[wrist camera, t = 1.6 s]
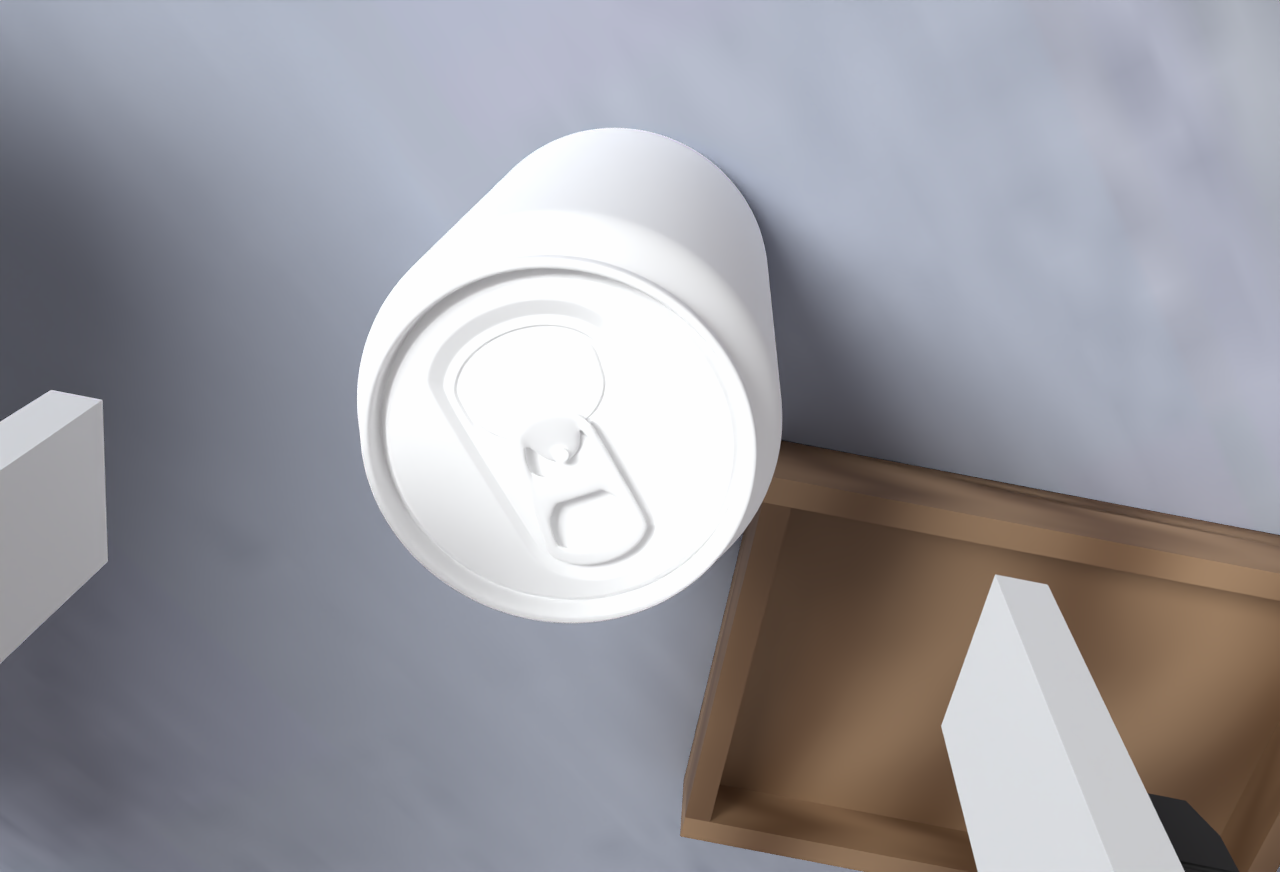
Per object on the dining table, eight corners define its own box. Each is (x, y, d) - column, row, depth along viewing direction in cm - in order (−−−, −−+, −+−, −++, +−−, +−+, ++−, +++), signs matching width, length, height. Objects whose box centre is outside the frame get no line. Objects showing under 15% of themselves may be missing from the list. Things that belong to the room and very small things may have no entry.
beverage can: (709, 77, 28) (692, 156, 17) (805, 358, 31) (844, 579, 20) (428, 187, 30) (251, 322, 19) (544, 443, 33) (448, 690, 22)
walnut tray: (683, 780, 37) (680, 836, 35) (766, 437, 32) (768, 476, 30) (1204, 880, 37) (1236, 942, 35) (1374, 553, 32) (1425, 601, 30)
